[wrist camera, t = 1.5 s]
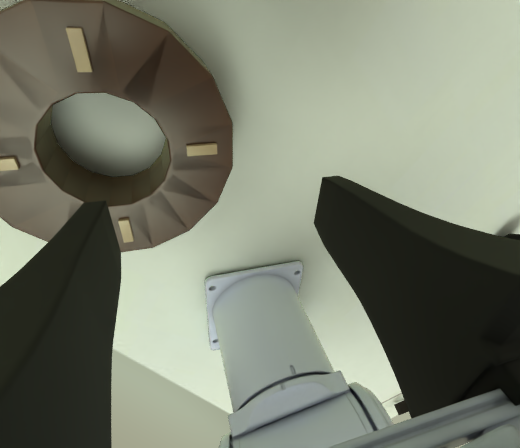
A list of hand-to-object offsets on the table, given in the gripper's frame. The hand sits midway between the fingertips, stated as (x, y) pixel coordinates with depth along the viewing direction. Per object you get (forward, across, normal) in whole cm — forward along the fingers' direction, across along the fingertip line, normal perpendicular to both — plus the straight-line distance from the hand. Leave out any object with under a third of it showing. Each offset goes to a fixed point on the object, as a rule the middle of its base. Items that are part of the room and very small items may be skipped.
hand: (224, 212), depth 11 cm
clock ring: (+8, +4, 0) cm, 9 cm away
